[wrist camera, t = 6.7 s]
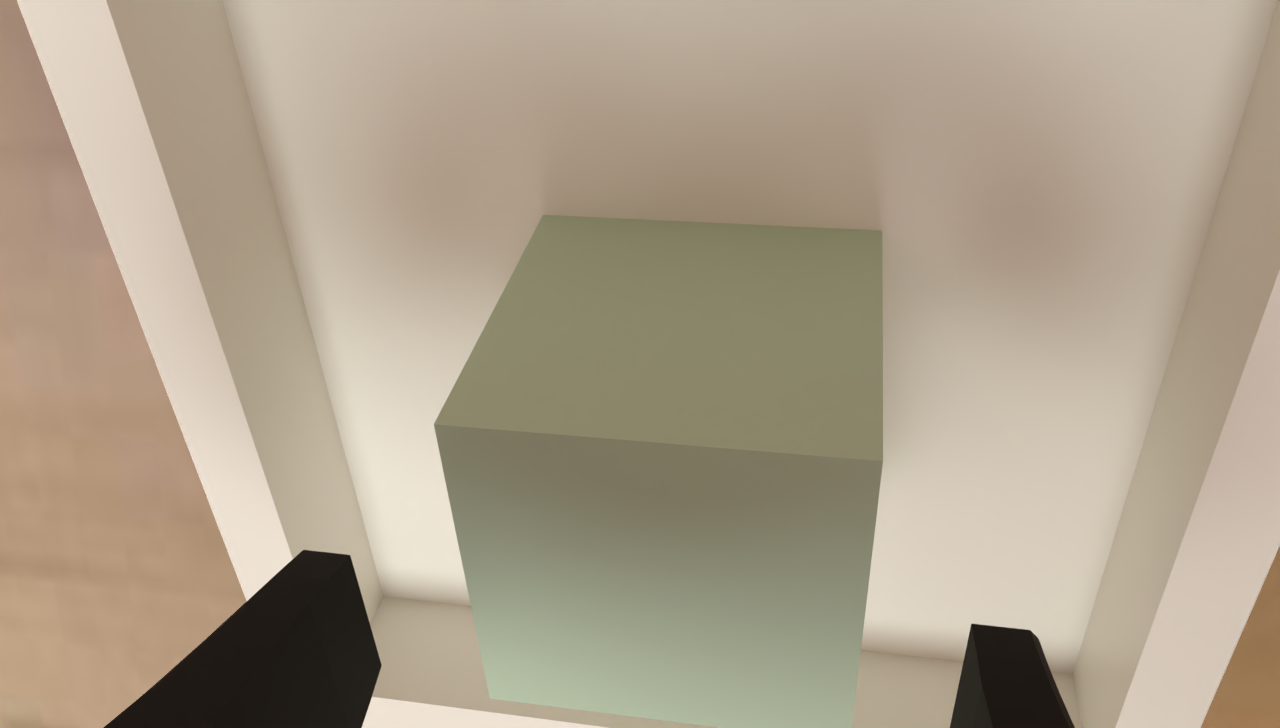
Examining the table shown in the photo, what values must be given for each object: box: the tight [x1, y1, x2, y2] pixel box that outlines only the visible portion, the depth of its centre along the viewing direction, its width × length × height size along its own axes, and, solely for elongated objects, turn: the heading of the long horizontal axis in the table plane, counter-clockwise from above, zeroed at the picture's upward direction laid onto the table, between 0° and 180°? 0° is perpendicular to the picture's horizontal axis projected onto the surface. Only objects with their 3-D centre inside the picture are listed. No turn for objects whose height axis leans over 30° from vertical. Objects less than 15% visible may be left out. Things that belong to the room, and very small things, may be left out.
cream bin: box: [17, 0, 1280, 728], centre depth 16 cm, size 16×16×3 cm
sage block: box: [434, 215, 883, 728], centre depth 15 cm, size 5×5×5 cm
